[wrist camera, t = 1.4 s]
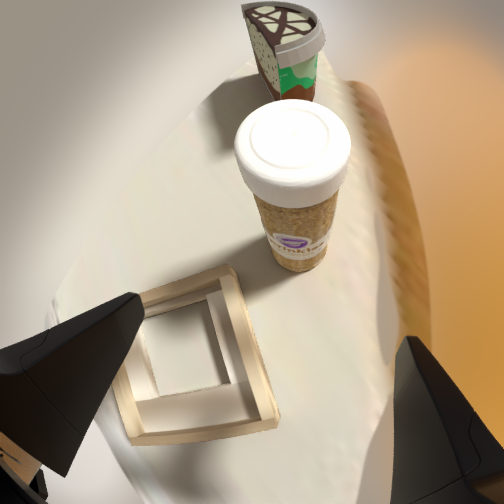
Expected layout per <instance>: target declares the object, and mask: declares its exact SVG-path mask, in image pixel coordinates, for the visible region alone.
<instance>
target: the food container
mask: <svg viewBox="0 0 504 504" xmlns="http://www.w3.org/2000/svg"><path fill="white" fill-rule="evenodd" d="M241 7H242V13H243V17H244V18H245V21H246V25H247V29H248V32H249V36H250V40H251V44H252V48H253V52H254V55H255V59H256V63H257V67H258V72H259V74H260V76H261V78H262V80H263V82H264V84H265V86H266V87H267V89H268V91H269V93H270V95H271V97H272V99H273V101H274V102H275V101H280V100H288V99H297V100H305V101H310V102H312V101H313V98H314V94H315V82H316V69H317V55H318V52H319V51H320V50H321V49H322V47H323V46H324V44H325V34H324V31H323V28H322V24H321V22H320V20H319V19H318V18H317V16H316V14H315V13H314V12H313V11H311V10H309V9H308V8H306V7H303V6H301V5H297V4H293V3H288V2H278V1H263V2H254V3H247V4H242V5H241Z"/></svg>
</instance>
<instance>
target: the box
mask: <svg viewBox="0 0 504 504" xmlns="http://www.w3.org/2000/svg"><path fill="white" fill-rule="evenodd" d="M139 295H140V297H141V300H142V303H143V307H144V310H145V316H144V318H147V317H150V316H154V315H157V314H160V313H164V312H167V311H170V310H173V309H177V308H180V307H183V306H186V305H190V304H193V303H196V302H199V301H202V300H206V299H207V302H208V305H209V309H210V313H211V317H212V320H213V324H214V328H215V331H216V335H217V338H218V342H219V345H220V349H221V352H222V355H223V359H224V362H225V365H226V369H227V372H228V375H229V379H230V382H231V383H226V384H222V385H218V386H213V387H208V388H204V389H199V390H193V391H188V392H183V393H177V394H171V395H165V396H160V395H159V392H158V389H157V385H156V382H155V378H154V375H153V371H152V367H151V363H150V359H149V355H148V351H147V347H146V343H145V339H144V334H143V330H142V325H141V326H140V328H139V330H138V332H137V335H136V337H135V339H134V342H133V344H132V346H131V348H130V350H129V352H128V354H127V356H126V358H125V360H124V361H123V363H122V365H121V367H120V369H119V370H118V372H117V374H116V376H115V378H114V380H113V382H112V386H113V390H114V393H115V397H116V400H117V404H118V407H119V410H120V414H121V417H122V420H123V423H124V426H125V429H126V432H127V435H128V437H129V440H130V443H131V445H132V446H150V445H170V444H183V443H193V442H202V441H210V440H217V439H224V438H230V437H236V436H241V435H246V434H252V433H256V432H261V431H266V430H270V429H274V428H277V426H278V423H279V420H280V413H279V409H278V406H277V403H276V400H275V397H274V394H273V391H272V388H271V385H270V381H269V378H268V375H267V372H266V369H265V365H264V362H263V359H262V356H261V353H260V349H259V346H258V343H257V340H256V336H255V333H254V330H253V327H252V323H251V320H250V317H249V313H248V310H247V307H246V303H245V300H244V297H243V293H242V290H241V286H240V283H239V280H238V276H237V273H236V272H235V271H234V270H233V269H232V268H231V267H230V266H229V265H228V264H224V265H222V266H219V267H216V268H213V269H210V270H207V271H204V272H201V273H198V274H195V275H192V276H189V277H187V278H184V279H181V280H178V281H175V282H172V283H169V284H166V285H163V286H160V287H157V288H154V289H151V290H148V291H146V292H143V293H140V294H139Z"/></svg>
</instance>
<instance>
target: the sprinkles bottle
mask: <svg viewBox="0 0 504 504" xmlns="http://www.w3.org/2000/svg"><path fill="white" fill-rule="evenodd" d="M350 150H351V142H350V136H349V133H348V131H347V129H346V127H345V125H344V124H343V122H342V121H341V120H340V118H339V117H338V116H337V115H335V114H334V113H333V112H332V111H330V110H329V109H327V108H325V107H323V106H321V105H319V104H316V103H313V102H310V101H305V100H297V99H288V100H280V101H275V102H272V103H269V104H266V105H264V106H262V107H260V108H258V109H256V110H255V111H253V112H252V113H251V114H250V115H248V116H247V117H246V118H245V120H244V121H243V122H242V123H241V125H240V127H239V128H238V130H237V133H236V136H235V140H234V152H235V156H236V160H237V163H238V166H239V169H240V172H241V174H242V177H243V180H244V182H245V183H246V185H247V186H248V188H249V189H250V190H251V191H252V192H253V195H254V198H255V201H256V204H257V207H258V209H259V213H260V216H261V221H262V224H263V227H264V230H265V233H266V236H267V238H268V241H269V243H270V245H271V251H272V253H273V256H274V258H275V260H276V261H277V262H278V263H279V264H280V265H281V266H283V267H285V268H287V269H289V270H291V271H297V272H301V271H307V270H309V269H311V268H313V267H315V266H317V265H318V264H319V263H320V262H321V261H322V259H323V258H324V256H325V254H326V250H327V242H328V240H329V236H330V232H331V228H332V224H333V220H334V215H335V211H336V207H337V196H338V191H339V187H340V186H341V185H342V183H343V181H344V179H345V177H346V173H347V168H348V164H349V158H350Z"/></svg>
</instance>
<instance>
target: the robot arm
mask: <svg viewBox="0 0 504 504" xmlns="http://www.w3.org/2000/svg"><path fill="white" fill-rule="evenodd" d="M144 316H145V310H144V307H143V303H142V300H141V297H140V295H139V294H137V293H133V292H128V293H125V294H123V295H121V296H119V297H117V298H114V299H112V300H110V301H108V302H106V303H104V304H101V305H99V306H97V307H95V308H93V309H91V310H88V311H86V312H84V313H82V314H80V315H78V316H76V317H73V318H71V319H69V320H67V321H65V322H63V323H61V324H59V325H56V326H54V327H52V328H51V329H48V330H46V331H44V332H42V333H40V334H37V335H35V336H33V337H31V338H28V339H26V340H23V341H21V342H18V343H16V344H13V345H11V346H8V347H5V348H3V349H0V504H48V503H47V502H46V501H45V500H46V499H47V497H48V492H47V488H46V484H45V479H44V474H43V470H41V469H40V467H41V465H42V464H44V465H45V466H47V467H48V468H50V469H51V470H53V471H54V472H56V473H57V474H59V475H61V476H62V477H64V478H65V477H66V475H67V473H68V471H69V468H70V467H71V464H72V462H73V460H74V458H75V456H76V453H77V451H78V449H79V447H80V445H81V443H82V441H83V439H84V436H85V434H86V432H87V430H88V428H89V426H90V424H91V422H92V420H93V418H94V416H95V414H96V412H97V410H98V408H99V406H100V404H101V402H102V400H103V399H104V397H105V395H106V393H107V391H108V389H109V387H110V385H111V383H112V382H113V380H114V378H115V376H116V374H117V372H118V370H119V369H120V367H121V365H122V363H123V361H124V360H125V358H126V356H127V354H128V352H129V350H130V348H131V346H132V344H133V342H134V339H135V337H136V335H137V332H138V330H139V328H140V326H141V323H142V321H143V319H144ZM393 403H394V459H393V478H392V490H391V501H390V504H504V449H503V447H502V446H501V445H500V444H499V442H498V441H497V440H496V439H495V438H494V436H493V435H492V434H491V432H490V431H489V430H488V429H487V427H486V426H485V424H484V423H483V422H482V420H481V419H480V417H479V416H478V414H477V413H476V412H475V411H474V409H473V407H472V406H471V405H470V403H469V402H468V400H467V399H466V398H465V397H464V395H463V394H462V392H461V391H460V390H459V388H458V387H457V386H456V384H455V383H454V382H453V380H452V379H451V378H450V376H449V375H448V374H447V373H446V371H445V370H444V369H443V367H442V366H441V365H440V364H439V362H438V361H437V360H436V358H435V357H434V356H433V355H432V353H431V352H430V351H429V350H428V349H427V347H426V346H425V345H424V344H423V342H422V341H421V340H420V339H419V338H418V337H417V336H405V337H404V339H403V341H402V343H401V345H400V347H399V349H398V351H397V353H396V358H395V381H394V399H393Z"/></svg>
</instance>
